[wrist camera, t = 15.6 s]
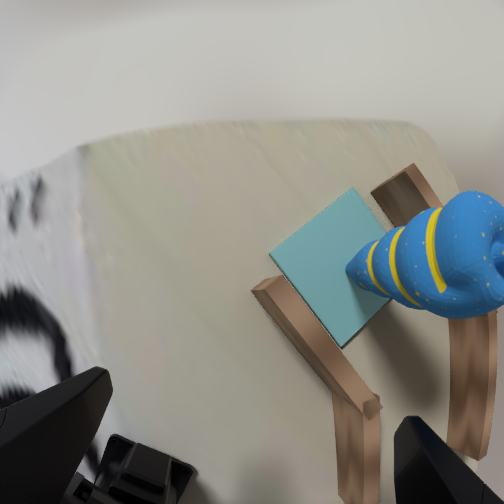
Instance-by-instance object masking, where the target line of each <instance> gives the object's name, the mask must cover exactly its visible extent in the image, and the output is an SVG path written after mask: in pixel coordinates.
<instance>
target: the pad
mask: <svg viewBox="0 0 504 504" xmlns="http://www.w3.org/2000/svg"><path fill="white" fill-rule="evenodd" d="M385 234H387V233H386V232H385V230H384V229H383V227H382V226H381V224H380V223H379V222H378V220H377V219H376V217H375V216H374V215H373V213H372V212H371V210H370V209H369V208H368V206H367V205H366V204H365V202H364V201H363V199H362V198H361V197H360V195H359V194H358V193H357V192H356V190H355V189H354V188H351V189H350V190H349V191H348V192H346V193H345V194H344V195H343V196H341V197H340V198H339V199H338V200H336V201H335V202H334V203H332V204H331V205H330V206H329V207H327V208H326V209H325V210H324V211H322V212H321V213H320V214H319V215H317V216H316V217H315V218H313V219H312V220H311V221H310V222H308V223H307V224H306V225H305V226H303V227H302V228H301V229H300V230H298V231H297V232H296V233H294V234H293V235H292V236H291V237H289V238H288V239H287V240H286V241H284V242H283V243H282V244H280V245H279V246H278V247H277V248H275V249H274V250H273V251H271V252H270V253H269V255H270V256H271V258H272V259H273V260H274V262H275V263H276V264H277V265H278V267H279V268H280V269H281V271H282V272H283V273H284V275H285V276H286V277H287V278H288V280H289V281H290V282H291V284H292V285H293V286H294V288H295V289H296V290H297V292H298V293H299V294H300V295H301V297H302V298H303V299H304V301H305V302H306V303H307V305H308V306H309V307H310V309H311V310H312V311H313V313H314V314H315V315H316V316H317V318H318V319H319V320H320V322H321V323H322V324H323V326H324V327H325V328H326V330H327V331H328V332H329V334H330V335H331V336H332V338H333V339H334V340H335V342H336V343H337V344H338V346H342V345H343V344H344V343H345V342H347V341H348V340H349V339H350V338H351V337H352V336H353V335H354V334H355V333H356V332H357V331H358V330H359V329H360V328H361V327H362V326H363V325H364V324H365V323H366V322H367V321H368V320H369V319H370V318H371V317H372V316H373V315H374V314H375V313H376V312H377V311H378V310H379V309H380V308H381V307H382V306H383V305H384V304H385V303H386V302H387V301H388V300H389V299H390V298H384V297H381V296H379V295H377V294H375V293H373V292H371V291H366V290H363V289H361V288H360V287H359V286H358V285H357V284H356V283H355V282H354V281H353V279H352V278H351V277H350V276H349V275H348V274H347V273H346V270H345V267H346V265H347V264H348V263H349V262H350V261H351V260H352V258H353V257H354V256H355V255H356V254H357V253H358V252H359V251H360V250H361V249H362V248H363V247H364V246H365V245H366V244H368V243H369V242H371V241H374V240H379V239H382V237H383V236H384V235H385Z"/></svg>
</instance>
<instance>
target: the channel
mask: <svg viewBox="0 0 504 504" xmlns="http://www.w3.org/2000/svg"><path fill="white" fill-rule="evenodd" d="M371 194H372V195H373V197H374V198H375V199H376V201H377V202H378V204H379V205H380V206H381V208H382V209H383V211H384V212H385V213H386V215H387V216H388V218H389V219H390V220H391V222H392V223H393V225H394V226H395V228H397V227H400V226H406V225H407V224H408V223H409V222H410V221H411V220H412V219H413V218H414V217H415V216H416V215H418V214H419V213H421V212H422V211H424V210H427V209H429V208H436V207H440V208H443V205H442V204H441V202H440V200H439V199H438V197H437V196H436V194H435V193H434V191H433V190H432V188H431V187H430V185H429V184H428V182H427V181H426V179H425V178H424V176H423V175H422V174H421V172H420V171H419V169H418V168H417V166H416V165H415V164H414V163H413V164H411V165H410V166H408V167H407V168H405V169H404V170H402V171H400V172H399V173H397V174H396V175H394V176H393V177H391V178H390V179H388V180H386V181H385V182H383V183H382V184H380V185H379V186H378V187H376V188H375V189H374V190H373V191H372V192H371ZM251 291H252V293H253V294H254V295H255V296H256V298H257V299H258V300H259V302H260V303H261V304H262V305H263V307H264V308H265V309H266V310H267V312H268V313H269V314H270V316H271V317H272V318H273V319H274V321H275V322H276V323H277V324H278V326H279V327H280V328H281V329H282V331H283V332H284V333H285V334H286V336H287V337H288V338H289V339H290V341H291V342H292V343H293V345H294V346H295V347H296V348H297V349H298V351H299V352H300V353H301V354H302V356H303V357H304V358H305V359H306V361H307V362H308V363H309V364H310V366H311V367H312V368H313V369H314V371H315V372H316V373H317V374H318V375H319V377H320V378H321V379H322V380H323V382H324V383H325V384H326V385H327V386H328V388H329V389H330V390H331V391H332V399H333V410H334V423H335V437H336V453H337V472H338V495H339V496H340V497H341V499H342V500H343V501H344V503H345V504H378V496H379V478H380V410H381V409H382V408H383V407H382V405H381V404H380V397H379V396H378V395H376V394H374V393H372V392H371V391H370V389H369V388H368V387H367V385H366V384H365V383H364V381H363V380H362V379H361V377H360V376H359V375H358V373H357V372H356V371H355V369H354V368H353V367H352V365H351V364H350V363H349V362H348V360H347V359H346V358H345V356H344V355H343V354H342V352H341V351H340V350H339V348H338V347H337V346H336V344H335V343H334V342H333V340H332V339H331V338H330V336H329V335H328V334H327V332H326V331H325V330H324V329H323V327H322V326H321V325H320V323H319V322H318V321H317V319H316V318H315V317H314V315H313V314H312V313H311V311H310V310H309V309H308V308H307V306H306V305H305V304H304V302H303V301H302V300H301V298H300V297H299V296H298V294H297V293H296V292H295V291H294V289H293V288H292V287H291V285H290V284H289V283H288V281H287V280H286V279H285V277H284V276H283V275H280V276H276V277H272V278H269V279H265V280H263V281H262V282H261V283H260V284H258V285H257V286H256V287H255V288H253V289H252V290H251ZM497 312H498V311H497V309H496V310H493V311H491V312H489V313H487V314H484V315H480V316H477V317H473V318H465V319H452V318H449V332H450V358H451V383H450V410H449V424H448V435H447V445H448V446H449V447H451V448H453V449H455V450H457V451H459V452H461V453H463V454H465V455H467V456H469V457H471V458H473V459H475V460H477V461H479V460H480V459H482V458H483V457H484V456H486V454H487V449H488V444H489V438H490V432H491V426H492V419H493V411H494V401H495V390H496V375H497Z"/></svg>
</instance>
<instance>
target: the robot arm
mask: <svg viewBox="0 0 504 504" xmlns="http://www.w3.org/2000/svg"><path fill="white" fill-rule="evenodd" d="M112 393H113V387H112V382H111V378H110V374H109V371H108V370H107V369H104V368H101V367H98V366H96V367H93V368H91V369H89V370H87V371H85V372H82V373H80V374H78V375H76V376H74V377H72V378H70V379H68V380H65V381H63V382H61V383H59V384H57V385H55V386H52V387H50V388H48V389H46V390H44V391H41V392H39V393H37V394H35V395H33V396H30V397H28V398H26V399H24V400H21V401H19V402H17V403H15V404H12V405H10V406H8V408H7V407H5V408H3V409H1V410H0V504H177V503H178V501H179V499H180V497H181V495H182V493H183V492H184V490H185V488H186V486H187V484H188V482H189V480H190V478H191V476H192V474H193V467H192V466H191V465H189V464H187V463H184V462H181V461H179V460H176V459H173V458H171V457H170V456H169V455H166V454H164V453H161V452H159V451H156V450H154V449H152V448H149V447H147V446H145V445H142V444H140V443H135V442H133V441H130V440H128V439H126V438H124V437H122V436H120V435H118V434H112V435H111V436H110V438H109V440H108V442H107V445H106V448H105V451H104V454H103V457H102V460H101V463H100V466H99V469H98V472H97V476H96V479H95V482H94V484H93V483H91V482H90V481H88V480H87V479H85V478H84V477H85V476H83V475H82V474H80V473H79V472H76V470H77V468H78V466H79V464H80V462H81V461H82V459H83V457H84V455H85V453H86V451H87V449H88V448H89V446H90V444H91V442H92V440H93V438H94V436H95V434H96V432H97V430H98V428H99V426H100V423H101V421H102V418H103V416H104V413H105V411H106V408H107V406H108V403H109V401H110V399H111V396H112ZM113 439H116V440H118V442H115V441H114V440H113ZM184 469H188V470H189V471H184ZM75 472H76V473H75ZM394 484H395V494H396V504H504V501H503V500H501V499H500V498H499V497H498V496H497V495H496V494H495V493H494V492H493V491H492V490H491V489H490V488H489V487H488V486H487V485H486V484H484V482H483V481H482V480H481V479H480V478H479V477H478V476H477V475H476V474H475V473H474V472H473V471H472V470H471V469H470V468H469V467H468V466H467V465H466V464H465V463H464V462H463V461H462V460H461V458H460V457H459V456H458V455H457V454H456V453H455V452H454V451H453V450H452V449H451V448H450V447H449V446H448V445H447V444H446V443H445V442H444V441H443V440H442V439H441V438H440V437H439V436H438V435H437V434H436V433H435V432H434V431H433V430H432V429H431V428H430V427H429V426H428V425H427V424H426V423H425V422H424V421H423V420H422V419H421V418H420V417H419V416H406V417H405V418H404V419H403V421H402V423H401V424H400V426H399V427H398V429H397V430H396V432H395V435H394Z"/></svg>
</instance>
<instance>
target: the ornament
mask: <svg viewBox="0 0 504 504" xmlns="http://www.w3.org/2000/svg"><path fill="white" fill-rule="evenodd" d="M345 270H346V273H347V274H348V275H349V276H350V277H351V278H352V279H353V281H354V282H355V283H356V284H357V285H358V286H359V287H360V288H361V289H363V290H366V291H371V292H373V293H375V294H377V295H379V296H381V297H384V298H390V299H394V300H396V301H397V302H399V303H401V304H403V305H405V306H406V307H409V308H413V309H418V310H428V311H430V312H432V313H434V314H436V315H439V316H442V317H446V318H452V319H465V318H473V317H477V316H480V315H484V314H487V313H489V312H491V311H493V310H496V309H497V308H499V307H501V306H502V305H504V207H502V205H501V204H500V203H499V202H497V201H496V200H494V199H493V198H492V197H490V196H488V195H486V194H484V193H481V192H478V191H466V192H463V193H460V194H458V195H457V196H455V197H454V198H453V199H451V200H450V201H449V202H448V203H447V204H446V205H445V206H444V207H443V208H440V207H436V208H429V209H427V210H424V211H422V212H421V213H419V214H418V215H416V216H415V217H414V218H413V219H412V220H411V221H410V222H409V223H408V224H407V225H406V226H400V227H397V228H394V229H392V230H391V231H389V232H388V233H387V234H385V235H384V236H383V237H382V239H379V240H374V241H371V242H369V243H368V244H366V245H365V246H364V247H363V248H362V249H361V250H360V251H359V252H358V253H357V254H356V255H355V256H354V257H353V258H352V260H351V261H350V262H349V263H348V264H347V265H346V267H345Z"/></svg>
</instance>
